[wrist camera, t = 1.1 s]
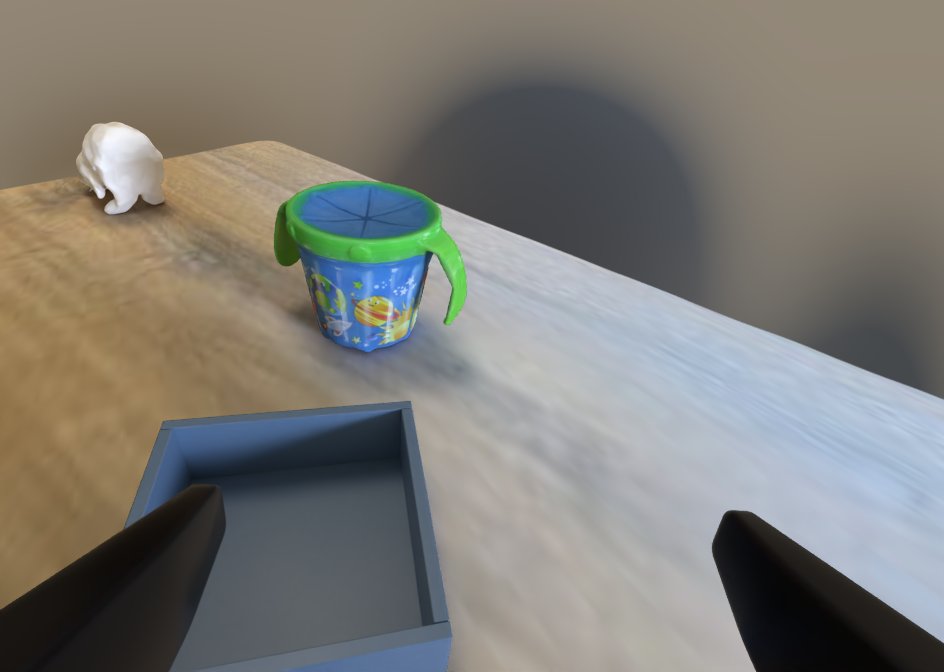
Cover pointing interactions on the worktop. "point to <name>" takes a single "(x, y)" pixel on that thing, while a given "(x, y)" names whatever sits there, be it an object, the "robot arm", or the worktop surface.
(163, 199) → the white animal figurine
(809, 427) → the worktop surface
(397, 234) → the snack cup
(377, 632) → the basin
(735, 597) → the robot arm
